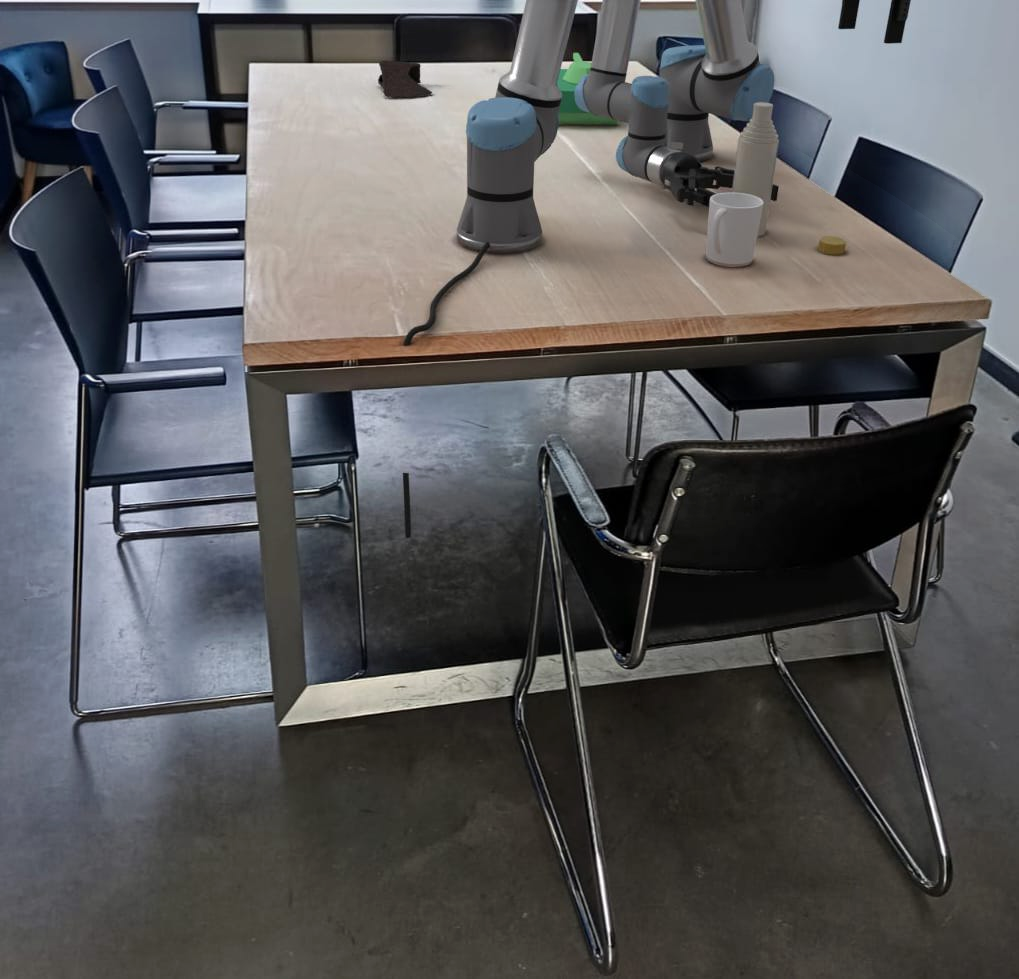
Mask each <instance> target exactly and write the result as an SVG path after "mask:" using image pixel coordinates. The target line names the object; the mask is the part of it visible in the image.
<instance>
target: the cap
mask: <svg viewBox="0 0 1019 979" xmlns="http://www.w3.org/2000/svg"><path fill="white" fill-rule="evenodd" d="M846 245H847V240H845V239H843V238H841V237H838V236H827V235H826V236H822V237H820V238H819V242H818V247H817V250H818V252H820V253H823V254H825V255H831V256H832V255H833V256H837V255H842V254H844V253H845V252H846Z"/></svg>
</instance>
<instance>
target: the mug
mask: <svg viewBox="0 0 1019 979" xmlns="http://www.w3.org/2000/svg"><path fill="white" fill-rule="evenodd" d="M763 204H764V202H763V200H762V199H760V198H759V197H756V196H753V195H749V194H744V193H732V192H720V193H716V194H715V195H713V196H711V197H710V204H709V208H708V219H707V220H708V221H707V235H706V248H705V249H706V250H705V258H706V260H707V261H708V262H710V263H711V264H714V265H717V266H721V267H728V268H739V267H740V268H742V267H746V266H749V265H751V264H752V263H753V260H754V256H755V250H756V245H757V240H758V237H757V235H758V230H759V225H760V219H761V214H762V209H763Z"/></svg>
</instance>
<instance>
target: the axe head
mask: <svg viewBox="0 0 1019 979" xmlns="http://www.w3.org/2000/svg"><path fill="white" fill-rule="evenodd" d="M378 66H379V68H380V72H381V74H379V75H378V79H377V84H378V85H379V86H380V87H381V88H382V89H383V95H384V96H385V97H388V98H394V99H395V98H396V99H403V98H405V99H406V98H407V99H411V98H418V97H425V96H429V95H432V94H433V91H431V90H430V89H428V88H427V87H425V86H422V85H421V84H422V82H421V63H419V62H410V61H408V62H407V61H397V60H388V59H387V60H380V61H379V62H378Z"/></svg>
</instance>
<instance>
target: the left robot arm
mask: <svg viewBox="0 0 1019 979" xmlns="http://www.w3.org/2000/svg"><path fill="white" fill-rule="evenodd" d="M860 2H861V0H841V8H840V14H839V21H838V27H837V29H838V30H855V29H856V25H857V19H858V13H859V7H860ZM911 2H912V0H891V2H890V7H889V13H888V18H887V23H886V28H885V33H884V39H883V44H886V45H887V44H902V43H903V38H904V33H905V27H906V23H907V19H908V18H909V11H910V6H911ZM578 3H579V0H525V5H524V8H523V13H522V17H521V21H520V26H519V30H518V35H517V39H516V43H515V49H514V51H513V56H512V60H511V66H510V70H509V71H508V72H506V73H505V74H504V75H502V76H500V77H499V79H498V83H497V88H496V92H495V97H491V98H488V99H487V100H486V99H483V100H480V101H478V102H476V103H475V104H473V105H472V106H471V107H470V109H469V110H468V113H467V120H466V125H465V133H466V192H467V193H466V198H465V202H464V205H463V209H462V211H461V214H460V218H459V220H458V224H457V227H456V241H457V243H458V244H459V245H461V246H462V247H464V248H466V249H468V250H470V251H475V252H478V253H477V255H476V256H475V258H474V260H473V261H472V262H471V264H469V266H468V267H466V268H465V269H464V270H463V271H462V272H460V273H458V274H457V275H455V276H454V277H453V278H451V279H450V280H449V281H448V282H447V283H446V284H444V286H443V287H442V288H440V290H438V293H436V295H435V296H434V297H433V299H432V301H431V303H430V305H429V317H428V320H427V321H426V323H423V324H420V325H416V326H414V327H412V328H411V329H410V330H409V331H408V332H407V334H406V336H405V338H404V340H403V344H402V346H404V347H409V346H410V345H411V342H412V340H413V338H414V337H415V336H416V335H417V334H419V333H422V332H426V331H428V330H430V329H431V328H432V327H433V325H434V324H435V322H436V319H437V318H436V317H437V306H438V304H439V302H440V301H441V299H442V298H443V297H444V295H445V294H446V293H447V292H448V291H450V289H452V287H454V286H455V285H456V284H458V282H459V281H461V280H463V279H464V278H466V277H467V276H469V275H470V274H471V273H472V272H473V271H474V270H475V269H476V268H477V267H478V265H480V264H479V263H480V262H481V260H482V259H483V257H484V256H485V254H497V255H499V254H500V255H506V254H507V255H508V254H517V253H524V252H527V251H530V250H533V249H536V248H538V247H539V246H540V245H541V244H542V243H543V229H542V224H541V221H540V220H541V219H540V218H539V214H538V213H539V212H538V210H537V206H536V204H535V199H534V184H535V181H534V180H535V162H537V160H539V158H540V157H541V156H542V155H544V154H545V153H547V151H548V150H549V149H550V148H551V147H552V144H553V143H554V142H555V139H556V137H557V134H558V130H559V126H560V124H559V117H558V111H559V107H560V103H561V99H562V92H561V91H560V89H559V87H558V85H557V81H558V77H559V73H560V69H562V64H563V61H564V57H565V52H566V49H567V45H568V41H569V37H570V33H571V29H572V26H573V23H574V22H573V21H574V17H575V13H576V10H577V6H578ZM402 483H403V484H402V486H403V488H402V489H403V508H404V511H403V512H404V536H405V538H406V539H410V538H412V522H411V520H412V519H411V517H412V516H411V496H410V494H411V492H410V473H409V472H402Z"/></svg>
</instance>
